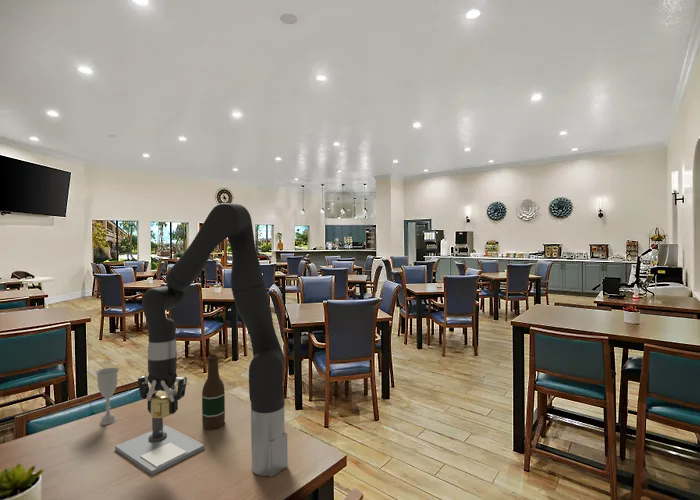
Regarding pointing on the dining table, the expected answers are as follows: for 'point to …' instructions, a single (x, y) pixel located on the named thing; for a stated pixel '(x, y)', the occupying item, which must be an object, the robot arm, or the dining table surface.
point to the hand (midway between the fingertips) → (162, 412)
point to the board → (159, 448)
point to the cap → (160, 405)
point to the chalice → (107, 391)
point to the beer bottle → (213, 397)
